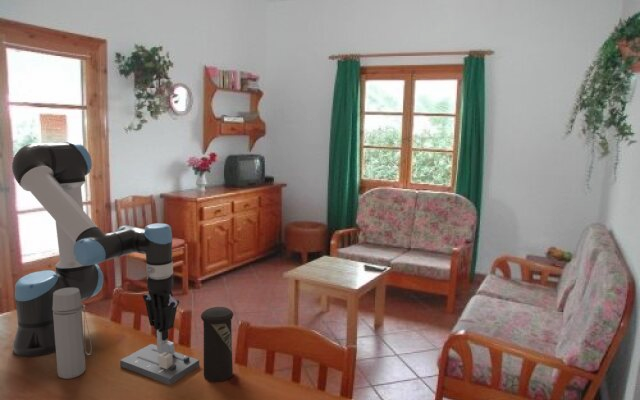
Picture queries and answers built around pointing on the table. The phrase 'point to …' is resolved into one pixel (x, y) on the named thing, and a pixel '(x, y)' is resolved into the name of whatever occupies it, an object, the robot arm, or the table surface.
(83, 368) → the water bottle
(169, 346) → the grey fader
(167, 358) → the cream fader
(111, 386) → the table surface
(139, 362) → the console
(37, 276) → the robot arm
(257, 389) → the table surface
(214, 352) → the container
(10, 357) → the table surface
